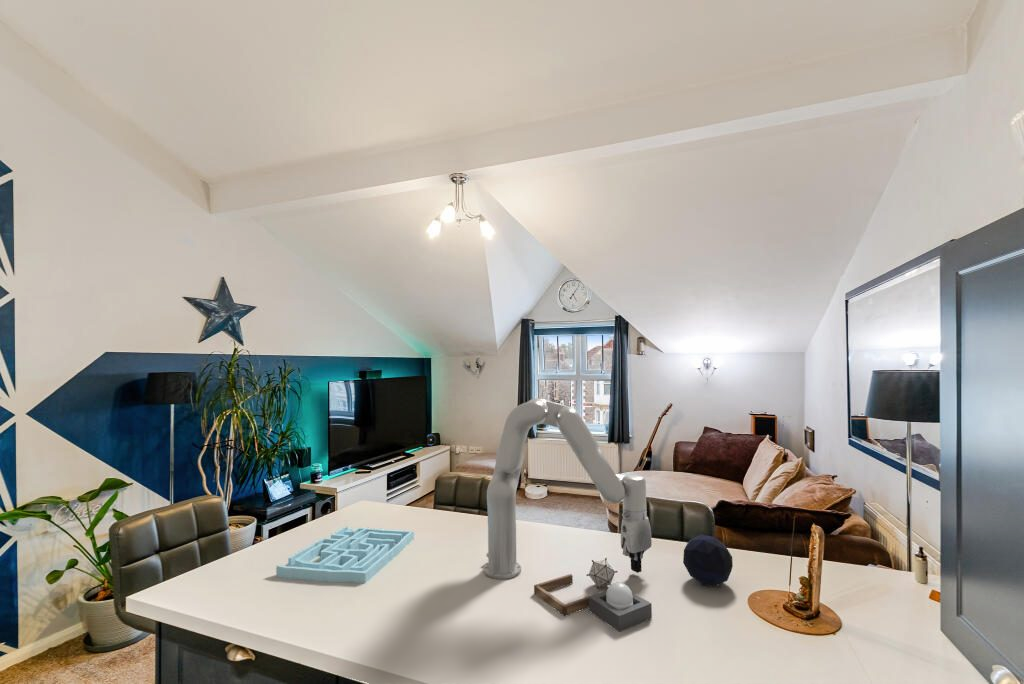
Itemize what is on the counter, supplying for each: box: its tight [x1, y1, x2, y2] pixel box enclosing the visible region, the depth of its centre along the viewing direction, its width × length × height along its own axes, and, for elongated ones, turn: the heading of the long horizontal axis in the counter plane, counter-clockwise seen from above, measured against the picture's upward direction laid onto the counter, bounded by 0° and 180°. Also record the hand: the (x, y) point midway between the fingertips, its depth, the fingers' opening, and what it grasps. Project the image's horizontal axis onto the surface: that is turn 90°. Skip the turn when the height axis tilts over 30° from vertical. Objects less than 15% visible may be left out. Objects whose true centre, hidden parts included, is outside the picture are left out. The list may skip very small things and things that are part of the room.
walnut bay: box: [533, 573, 601, 617], centre depth 137 cm, size 15×14×2 cm
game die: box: [586, 557, 618, 590], centre depth 144 cm, size 9×8×10 cm
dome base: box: [588, 589, 653, 632], centre depth 128 cm, size 12×12×4 cm
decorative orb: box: [682, 534, 734, 587], centre depth 146 cm, size 14×15×15 cm
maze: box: [275, 525, 415, 584], centre depth 170 cm, size 40×33×4 cm
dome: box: [606, 581, 633, 610], centre depth 128 cm, size 7×7×7 cm
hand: (636, 570), depth 152 cm, fingers closed
